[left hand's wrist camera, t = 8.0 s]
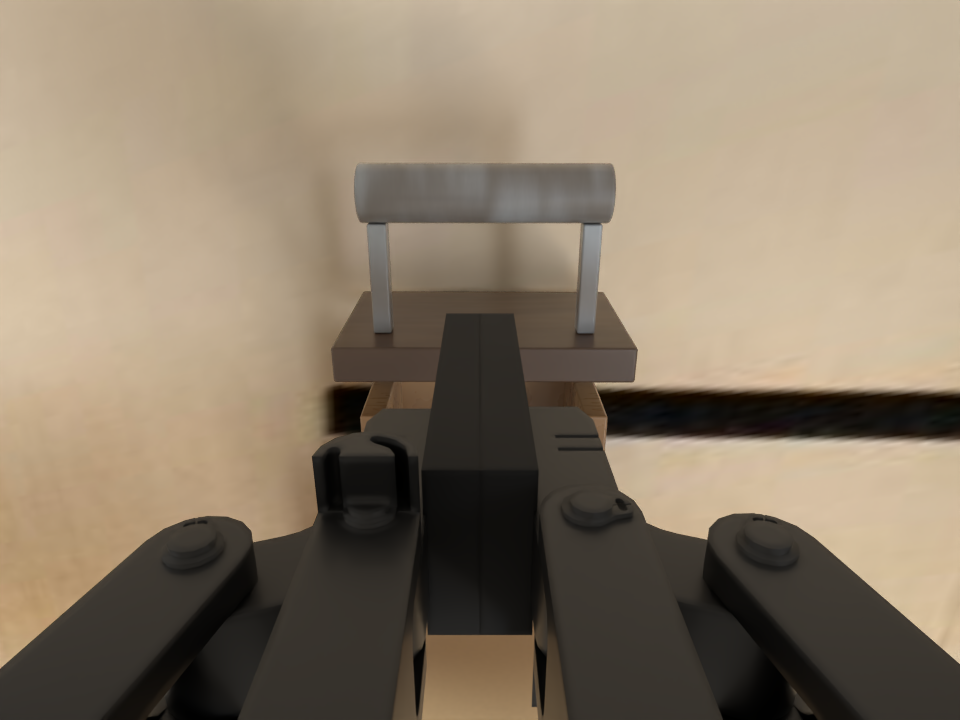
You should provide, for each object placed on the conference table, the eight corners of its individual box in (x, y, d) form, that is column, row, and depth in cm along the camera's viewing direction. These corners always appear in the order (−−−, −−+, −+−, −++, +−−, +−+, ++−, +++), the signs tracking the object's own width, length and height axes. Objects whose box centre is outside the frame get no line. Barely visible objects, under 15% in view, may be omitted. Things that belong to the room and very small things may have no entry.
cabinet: (368, 491, 31) (333, 617, 23) (597, 491, 31) (633, 618, 23) (390, 778, 38) (369, 940, 31) (572, 778, 38) (593, 940, 31)
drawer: (352, 149, 24) (313, 168, 18) (615, 150, 24) (657, 169, 18) (388, 650, 33) (370, 764, 28) (575, 650, 33) (594, 765, 28)
